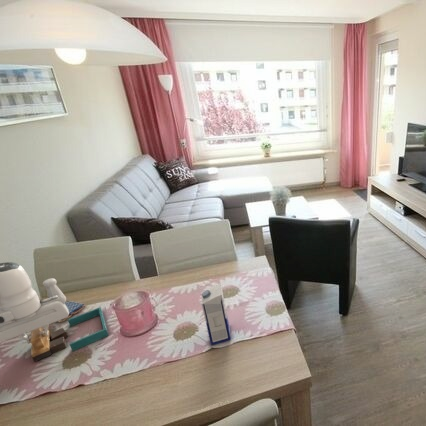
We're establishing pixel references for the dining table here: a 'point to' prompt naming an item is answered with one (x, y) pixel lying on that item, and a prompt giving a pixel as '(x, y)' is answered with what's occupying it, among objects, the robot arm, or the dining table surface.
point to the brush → (40, 344)
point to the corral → (93, 336)
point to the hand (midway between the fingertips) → (38, 338)
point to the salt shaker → (52, 288)
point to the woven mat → (72, 308)
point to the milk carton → (215, 315)
